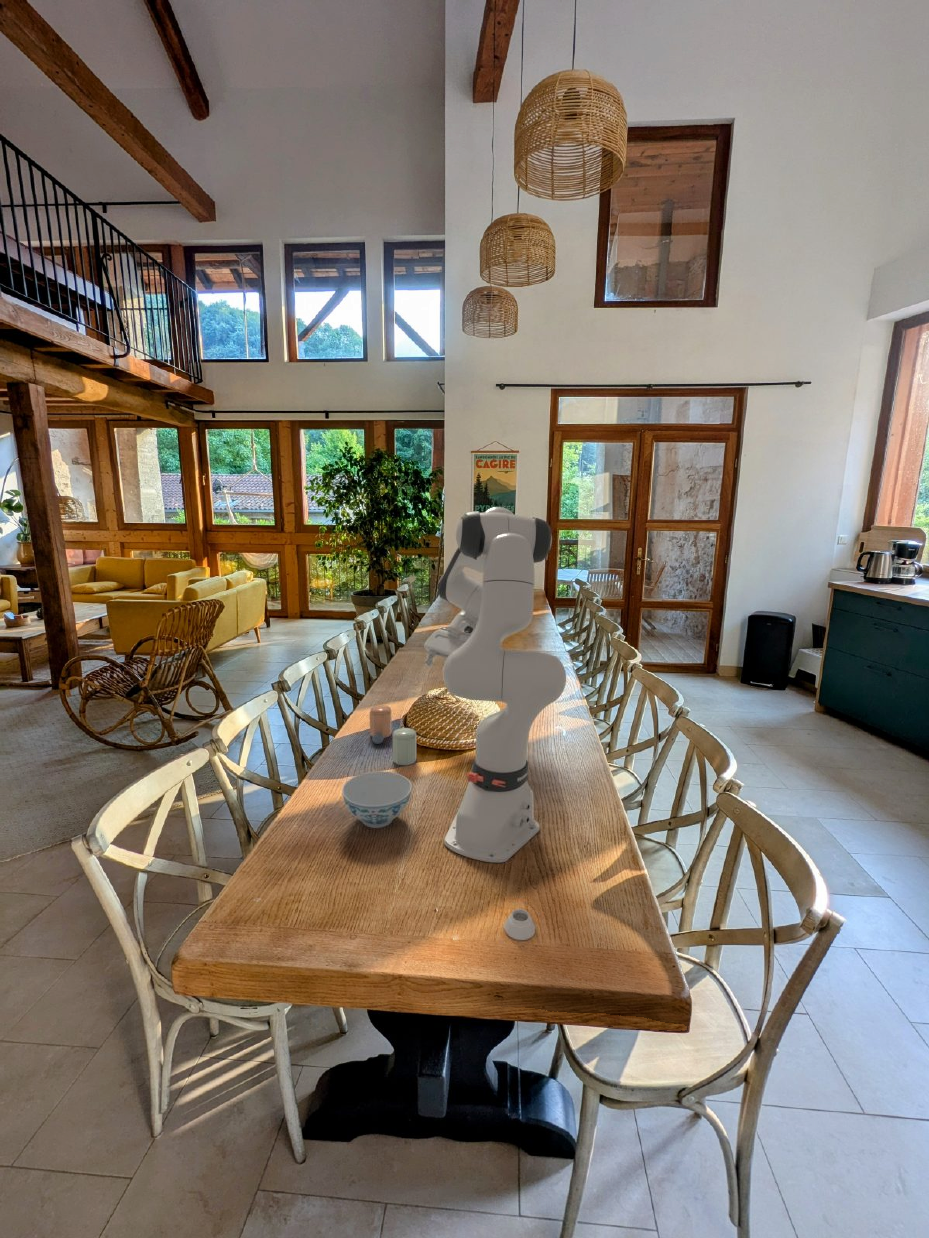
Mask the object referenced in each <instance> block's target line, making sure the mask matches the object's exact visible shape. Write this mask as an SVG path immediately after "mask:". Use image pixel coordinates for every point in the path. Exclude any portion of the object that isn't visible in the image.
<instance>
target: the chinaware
mask: <svg viewBox="0 0 929 1238" xmlns="http://www.w3.org/2000/svg"><path fill="white" fill-rule="evenodd" d="M412 789H413V787H412V782H411V781H410V780H409V779H408V778H407V777H406V776H403V774H399V773H397V772H393V771H383V770H382V771H370V772H365V773H361V774H358V775H355V776H354V777H351V778H350V779H349V780H347V781H346V782H345V783H344V784H343V786H342V790H341V791H342V792H341V793H342V797H343V801H344V804H345V806H346V808H347V809H348V811H349V813H351V814H352V816H353V817H355V818H356V819H357V820H359V821H361V822H362V824H363V825H365V826H366V827H369V828H373V829H379V828H384V827H386V826H389V825H390V824H391V823H393V821H394V819H395V818H397V817H398V816H399V815H400V814H402V812H404V810H405V808H406V806H407V804H408V803H409V801H410V798H411V796H412V795H411V793H412Z"/></svg>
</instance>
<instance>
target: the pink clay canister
mask: <svg viewBox="0 0 929 1238" xmlns="http://www.w3.org/2000/svg"><path fill="white" fill-rule="evenodd" d="M391 709H392V708H391V707H390V706H389V705H379V704H378V705H375V706H372V707H370V710H369V711H370V712H369V736H371V738H372V737H373V735H374V734H375V733H381V734H382V735H383V738H384V739H385V738H389V737H390V736H391V735H392V733H393V732H392V710H391Z"/></svg>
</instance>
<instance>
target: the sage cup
mask: <svg viewBox="0 0 929 1238" xmlns="http://www.w3.org/2000/svg"><path fill="white" fill-rule="evenodd" d="M392 733H393V734H392V762H393V763H394V764H396V765H398V766H410V765H413V764H415V763H416V761H417V731H416V730H415V729H412V728H409V727H401V728H398V729H395V730H394V731H393V732H392Z"/></svg>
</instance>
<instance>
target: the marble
mask: <svg viewBox="0 0 929 1238" xmlns="http://www.w3.org/2000/svg"><path fill="white" fill-rule="evenodd" d="M371 738H372V739H371V740H372V742H373V743H374V744H376V745H380V744H382V743H383V742H384V739H385V738H383V735H382V734H381V733H375V734H374V735H373V737H372V736H371Z"/></svg>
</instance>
